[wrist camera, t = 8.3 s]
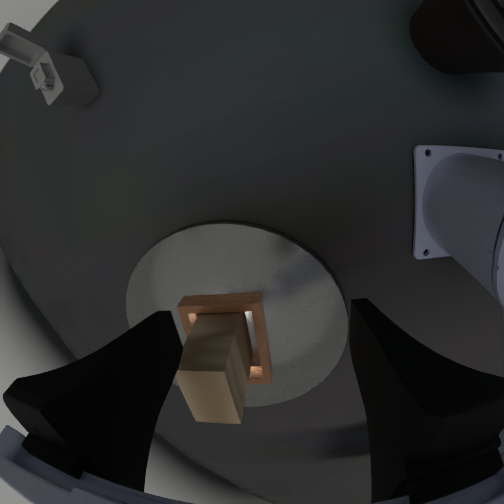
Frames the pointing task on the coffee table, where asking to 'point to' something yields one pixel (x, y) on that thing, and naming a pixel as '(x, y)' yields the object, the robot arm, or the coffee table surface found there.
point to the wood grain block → (216, 367)
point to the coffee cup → (460, 35)
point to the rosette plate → (249, 300)
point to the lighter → (50, 68)
